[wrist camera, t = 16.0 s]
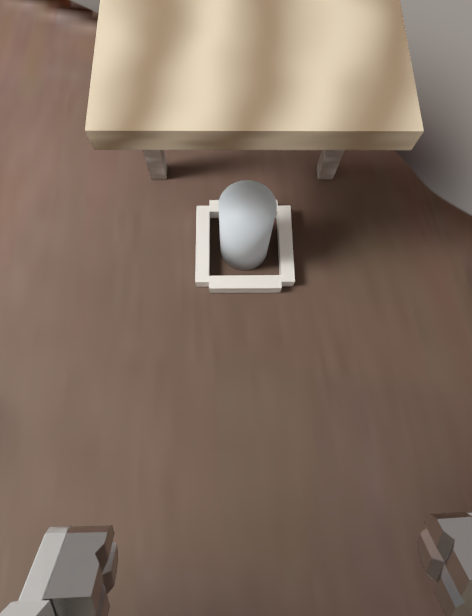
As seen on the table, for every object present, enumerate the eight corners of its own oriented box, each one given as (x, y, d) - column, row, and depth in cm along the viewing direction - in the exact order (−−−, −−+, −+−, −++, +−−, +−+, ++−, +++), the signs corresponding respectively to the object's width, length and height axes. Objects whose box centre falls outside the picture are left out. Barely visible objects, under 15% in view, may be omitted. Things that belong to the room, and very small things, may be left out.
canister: (220, 270, 36) (218, 231, 29) (220, 227, 38) (218, 180, 30) (268, 270, 36) (278, 231, 29) (266, 227, 38) (275, 180, 30)
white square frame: (196, 293, 36) (195, 288, 34) (197, 207, 38) (196, 200, 37) (293, 292, 36) (295, 287, 35) (288, 206, 38) (290, 200, 37)
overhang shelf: (147, 258, 37) (85, 130, 21) (152, 166, 39) (101, -8, 24) (340, 257, 37) (423, 131, 21) (331, 166, 40) (399, -5, 24)
